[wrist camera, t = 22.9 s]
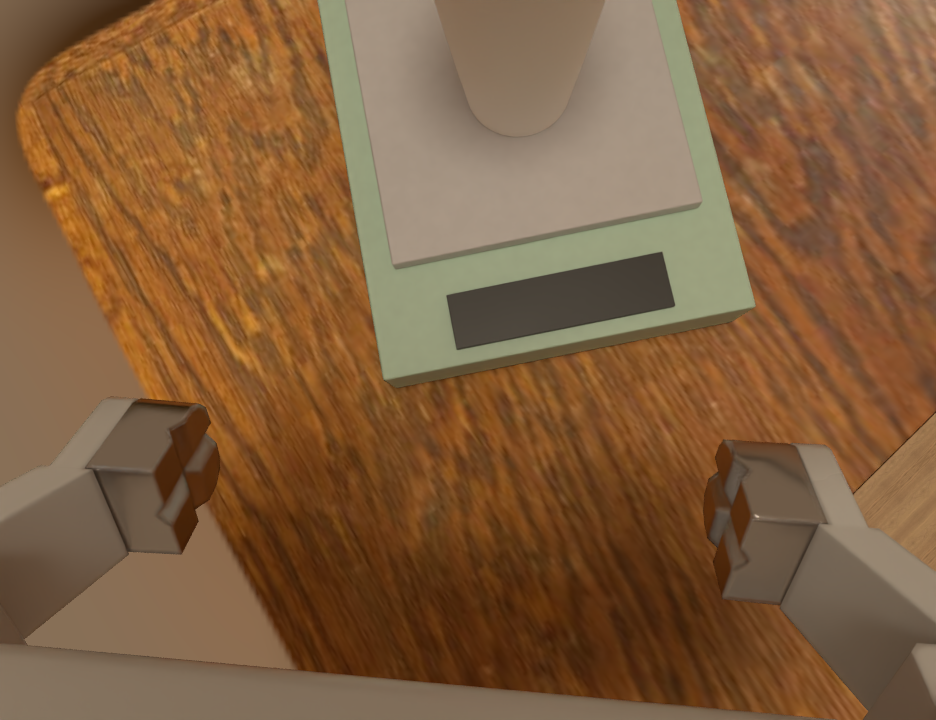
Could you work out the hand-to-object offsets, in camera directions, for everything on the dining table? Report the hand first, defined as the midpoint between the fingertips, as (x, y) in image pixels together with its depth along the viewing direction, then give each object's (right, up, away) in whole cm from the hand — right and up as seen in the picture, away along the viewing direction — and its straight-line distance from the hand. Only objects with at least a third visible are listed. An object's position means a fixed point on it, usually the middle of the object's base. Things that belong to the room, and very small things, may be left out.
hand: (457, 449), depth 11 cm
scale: (+2, +8, +14) cm, 17 cm away
